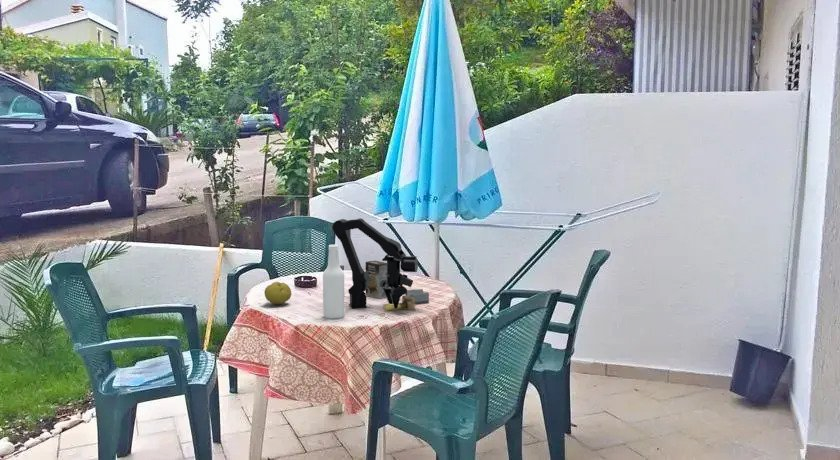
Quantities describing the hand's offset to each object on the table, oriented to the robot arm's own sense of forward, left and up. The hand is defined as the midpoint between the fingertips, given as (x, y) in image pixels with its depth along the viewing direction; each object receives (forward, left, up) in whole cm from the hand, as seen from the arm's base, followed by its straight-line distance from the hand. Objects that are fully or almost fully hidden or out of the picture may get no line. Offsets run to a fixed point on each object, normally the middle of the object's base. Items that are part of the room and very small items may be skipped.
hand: (393, 306), depth 318 cm
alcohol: (-28, -4, -1) cm, 28 cm away
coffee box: (0, +25, -1) cm, 25 cm away
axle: (0, 0, 0) cm, 0 cm away
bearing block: (+7, 0, -1) cm, 7 cm away
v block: (+14, +9, -1) cm, 17 cm away
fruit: (-46, +24, -1) cm, 51 cm away
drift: (+7, 0, -1) cm, 7 cm away
